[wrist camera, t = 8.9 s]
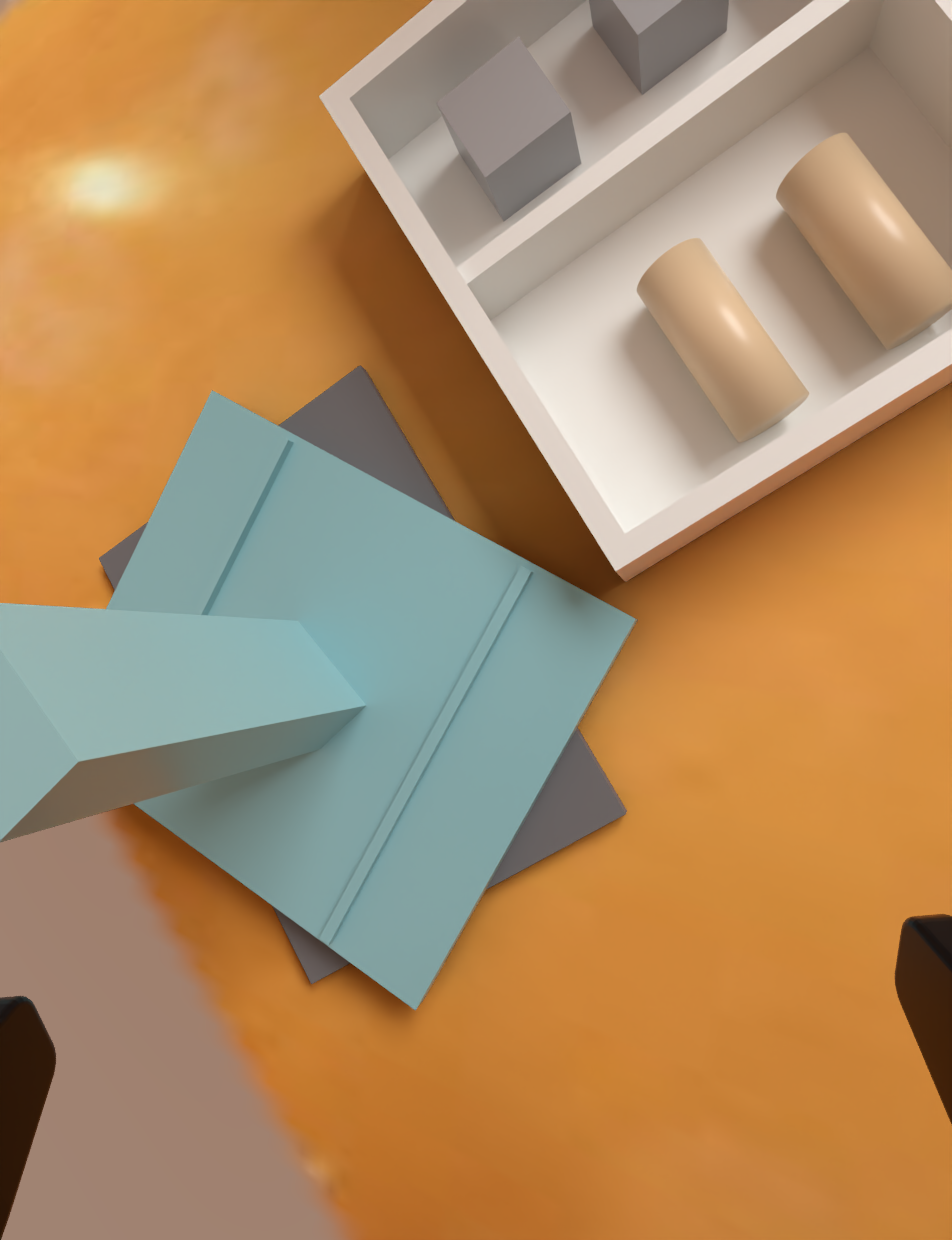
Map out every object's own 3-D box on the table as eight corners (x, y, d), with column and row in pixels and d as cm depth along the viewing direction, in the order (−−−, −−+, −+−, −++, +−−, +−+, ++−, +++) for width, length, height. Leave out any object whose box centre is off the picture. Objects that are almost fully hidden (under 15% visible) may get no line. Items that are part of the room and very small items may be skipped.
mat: (626, 810, 20) (625, 814, 19) (317, 978, 22) (311, 984, 21) (365, 369, 22) (360, 365, 21) (108, 559, 24) (98, 558, 24)
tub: (1088, 298, 17) (1170, 229, 14) (625, 581, 20) (615, 571, 17) (744, -136, 20) (755, -272, 17) (366, 168, 22) (318, 96, 19)
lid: (637, 620, 19) (585, 592, 9) (425, 996, 20) (157, 1364, 10) (228, 398, 23) (-164, 187, 12) (64, 734, 24) (-424, 806, 13)
